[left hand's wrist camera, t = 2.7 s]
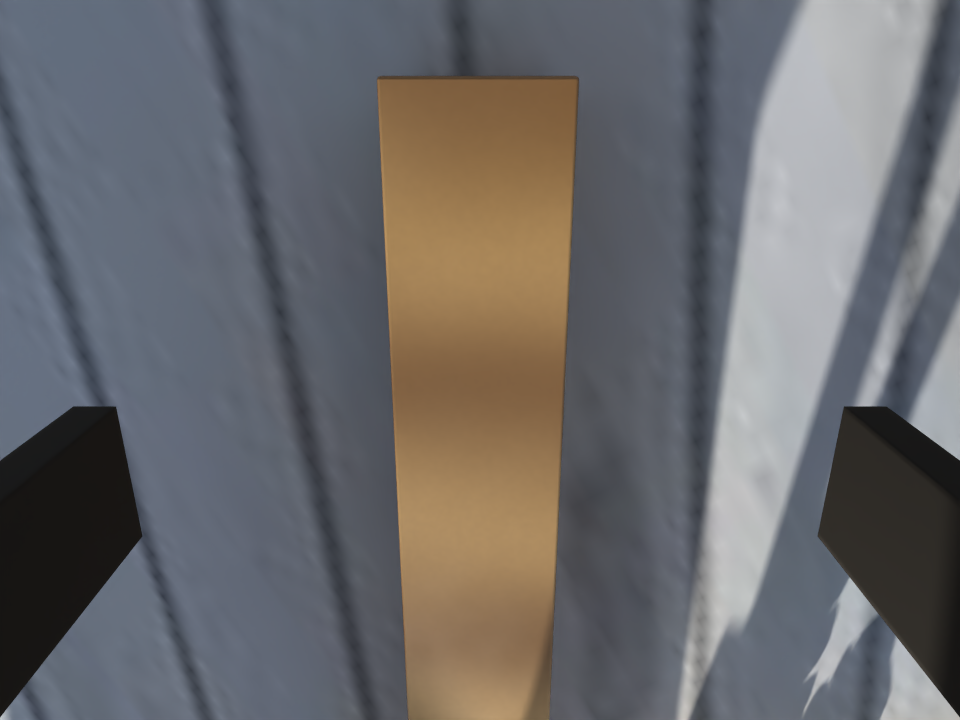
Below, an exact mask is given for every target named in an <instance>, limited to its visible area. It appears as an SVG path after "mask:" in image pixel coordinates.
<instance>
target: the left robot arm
mask: <svg viewBox="0 0 960 720" xmlns="http://www.w3.org/2000/svg"><path fill="white" fill-rule="evenodd" d="M141 537H142V532H141V527H140V522H139V517H138V513H137V508H136V503H135V498H134V493H133V488H132V483H131V478H130V473H129V468H128V463H127V458H126V453H125V449H124V444H123V439H122V434H121V429H120V424H119V419H118V414H117V409H116V407H72V408H71V409H70V410H68V411H67V412H65V413H64V414H63V415H61V416H60V417H59V418H57V419H56V420H55V421H53V422H52V423H51V424H49V425H48V426H47V427H45V428H44V429H42V430H41V431H40V432H38V433H37V434H36V435H34V436H33V437H32V438H30V439H29V440H28V441H26V442H25V443H23V444H22V445H21V446H19V447H18V448H17V449H15V450H14V451H13V452H11V453H10V454H9V455H7V456H6V457H5V458H3V459H2V460H0V717H1V715H2V714H3V713H4V712H5V710H6V709H7V708H8V707H9V705H10V704H11V703H12V701H13V700H14V699H15V698H16V696H17V695H18V694H19V693H20V691H21V690H22V689H23V687H24V686H25V685H26V684H27V682H28V681H29V680H30V679H31V677H32V676H33V675H34V673H35V672H36V671H37V670H38V668H39V667H40V666H41V665H42V663H43V662H44V661H45V659H46V658H47V657H48V656H49V654H50V653H51V652H52V651H53V649H54V648H55V647H56V645H57V644H58V643H59V642H60V640H61V639H62V638H63V637H64V635H65V634H66V633H67V631H68V630H69V629H70V628H71V626H72V625H73V624H74V623H75V621H76V620H77V619H78V617H79V616H80V615H81V614H82V612H83V611H84V610H85V609H86V607H87V606H88V605H89V603H90V602H91V601H92V600H93V598H94V597H95V596H96V595H97V593H98V592H99V591H100V589H101V588H102V587H103V586H104V584H105V583H106V582H107V580H108V579H109V578H110V577H111V575H112V574H113V573H114V572H115V570H116V569H117V568H118V566H119V565H120V564H121V563H122V561H123V560H124V559H125V558H126V556H127V555H128V554H129V552H130V551H131V550H132V549H133V547H134V546H135V545H136V544H137V542H138V541H139V540H140V538H141ZM818 537H819V538H820V540H821V541H822V542H823V544H824V545H825V546H826V547H827V549H828V550H829V551H830V552H831V554H832V555H833V556H834V558H835V559H836V560H837V561H838V563H839V564H840V565H841V566H842V568H843V569H844V570H845V572H846V573H847V574H848V575H849V577H850V578H851V579H852V581H853V582H854V583H855V584H856V586H857V587H858V588H859V589H860V591H861V592H862V593H863V595H864V596H865V597H866V598H867V600H868V601H869V602H870V603H871V605H872V606H873V607H874V609H875V610H876V611H877V612H878V614H879V615H880V616H881V617H882V619H883V620H884V621H885V623H886V624H887V625H888V626H889V628H890V629H891V630H892V631H893V633H894V634H895V635H896V637H897V638H898V639H899V640H900V642H901V643H902V644H903V645H904V647H905V648H906V649H907V651H908V652H909V653H910V654H911V656H912V657H913V658H914V659H915V661H916V662H917V663H918V665H919V666H920V667H921V668H922V670H923V671H924V672H925V673H926V675H927V676H928V677H929V679H930V680H931V681H932V682H933V684H934V685H935V686H936V687H937V689H938V690H939V691H940V693H941V694H942V695H943V696H944V698H945V699H946V700H947V701H948V703H949V704H950V705H951V707H952V708H953V709H954V710H955V712H956V713H957V714H958V715H959V717H960V460H958V459H957V458H955V457H954V456H953V455H951V454H950V453H949V452H947V451H946V450H945V449H943V448H942V447H941V446H939V445H938V444H937V443H935V442H934V441H932V440H931V439H930V438H928V437H927V436H926V435H924V434H923V433H922V432H920V431H919V430H918V429H916V428H915V427H913V426H912V425H911V424H909V423H908V422H907V421H905V420H904V419H903V418H901V417H900V416H899V415H897V414H896V413H895V412H893V411H892V410H890V409H889V408H888V407H844V409H843V414H842V419H841V424H840V429H839V434H838V439H837V444H836V449H835V453H834V458H833V463H832V468H831V473H830V478H829V483H828V488H827V493H826V498H825V503H824V508H823V513H822V517H821V522H820V527H819V532H818Z"/></svg>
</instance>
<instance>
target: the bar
mask: <svg viewBox="0 0 960 720" xmlns="http://www.w3.org/2000/svg"><path fill="white" fill-rule="evenodd" d="M377 92H378V113H379V134H380V154H381V175H382V195H383V216H384V236H385V257H386V277H387V298H388V318H389V339H390V359H391V380H392V401H393V421H394V442H395V462H396V483H397V503H398V524H399V544H400V565H401V585H402V606H403V626H404V647H405V668H406V688H407V709H408V720H549V713H550V692H551V670H552V649H553V627H554V606H555V585H556V563H557V542H558V521H559V499H560V478H561V456H562V435H563V414H564V392H565V371H566V350H567V328H568V307H569V285H570V264H571V243H572V221H573V200H574V179H575V157H576V136H577V114H578V93H579V78H578V77H577V76H379V77H378V78H377Z"/></svg>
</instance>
